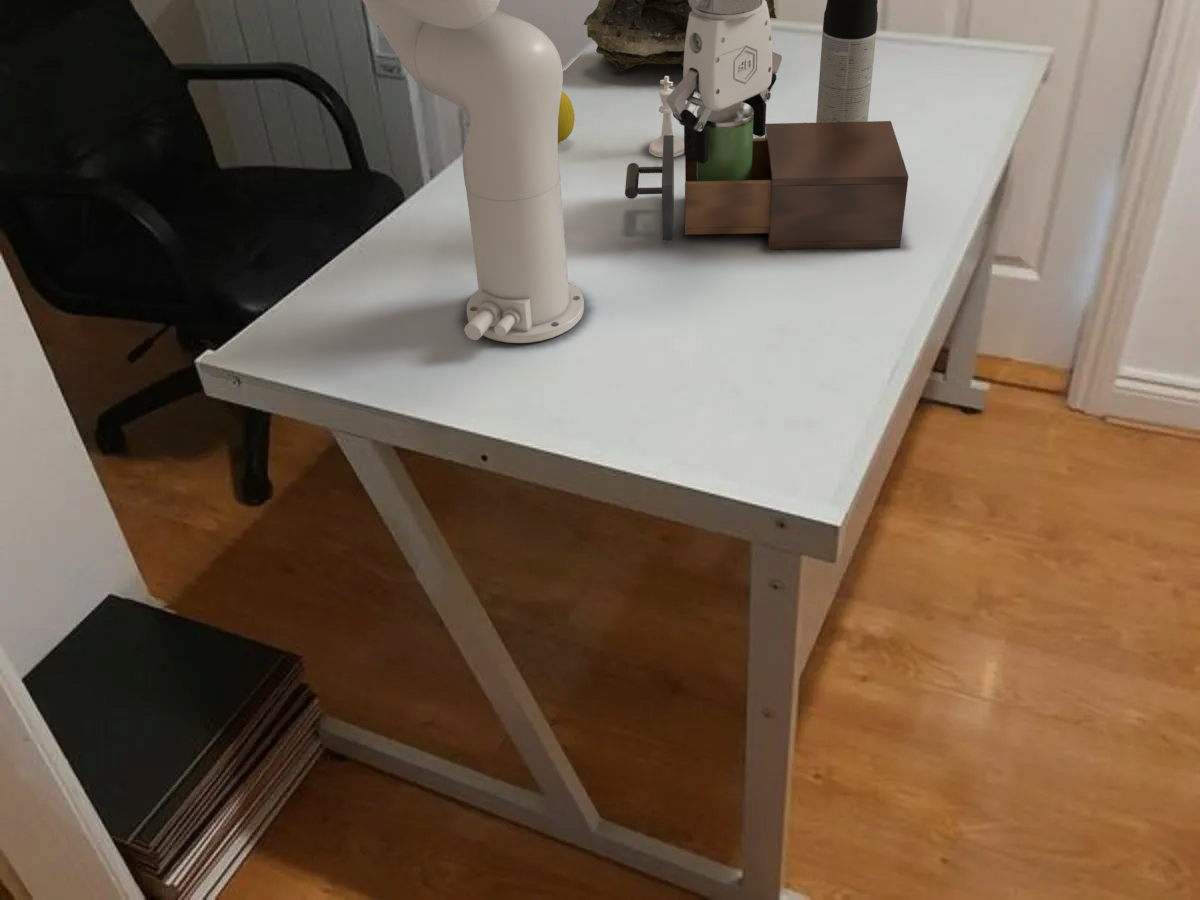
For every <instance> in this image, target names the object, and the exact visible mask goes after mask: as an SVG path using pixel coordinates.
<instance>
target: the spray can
mask: <svg viewBox="0 0 1200 900" xmlns="http://www.w3.org/2000/svg"><path fill="white" fill-rule="evenodd" d="M878 1H879V0H826V5H825V10H824V12H823V22H822V25H823V26H822V36H821V48H820V49H821V50H820V62H819V63H820V64H819V77H818V91H817V106H816V117H815V119H816V120H815V123H821V122H867V121H869V112H870V103H871V91H872V82H873V81H872V80H873V71H874V61H875V49H876V42H877V31H878V30H877V29H878V20H879V19H878V17H879V13H878Z"/></svg>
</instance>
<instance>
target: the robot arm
mask: <svg viewBox="0 0 1200 900" xmlns="http://www.w3.org/2000/svg"><path fill="white" fill-rule="evenodd" d="M362 2H363V4H364V5H365V7H366V8H367V10H368V12H369V14H370V15H371V17H372V18H373V20H374V22H375V23H376V25H377V27H378V28H379V30H380V31H381V33H382V34H383V36H384V38H385V39H386V41H387V43H388V44H389V46H390V48H391V49H392V50H393V52H394V54H395V55H396V57H397V59H398V60H399V62H400V63H401V64H402V66H403V68H405V70H406V72H407V73H408V74H409V75H410V77H411V78H412V79H413V80H414V81H415V82H416V83H417V84H418V85H420V86H421V87H422V88H424V90H427V91H428V92H430V93H431V94H434V95H435V96H438V97H440V98H442V99H444V100H447V101H448V102H450V103H453V104H455V105H456V106H458V107H459V108H461V109H464V110H465V111H466V112H467V113H468V116H469V117H468V118H469V126H468V130H467V134H466V138H465V141H464V144H463V148H462V172H463V181H464V185H465V192H466V199H467V200H466V201H467V208H468V209H467V210H468V216H469V222H470V223H469V224H470V231H471V238H472V246H473V247H472V248H473V254H474V264H475V271H476V279H477V287H478V290H476V291H475V292H474V293H473V294H472V295H471V296H470V298H469V299H468V301H467V304H466V317H467V321H468V322H467V323H466V325H464V333H465V335H466V337H467V338H468V339H470V340H472V341H479V340H480V339H481V338H482V337H485V338H487V339H490V340H493V341H497V342H500V343H501V342H502V343H503V342H504V343H508V344H530V343H537V342H543V341H546V340H549V339H552V338H555V337H558V336H560V335H562V334H564V333H566V332H568V331H569V330H571V329H572V328H573V327H574V326H576V325H577V324H578V323H579V322H580V321H581V319H582V318H583V315H584V313H585V301H584V296H583V293H582V292H581V290H580V289H579V288H578V287H577V286H576V285H574V284H572V283H571V282H570V281H569V278H568V265H567V264H568V263H567V251H566V250H567V249H566V237H565V223H564V210H563V195H562V182H561V175H560V174H561V172H560V159H559V144H558V117H559V107H560V100H561V92H563V83H564V71H563V64H562V63H563V62H562V58H561V56H560V53H559V50H558V49H557V47H556V46H555V44H554V43H553V41H552V40H551V38H550V37H549V36H547V34H545V32H543V31H542V30H541V29H540V28H537V27H536V26H535V25H533V24H531V23H530V22H528V21H525V20H524V19H521V18H519V17H517V16H513V15H512V14H509V13H506V12H503V11H501V10H498V7H499V5H500V2H501V0H362ZM688 2H689V5H690V7H691V8H692V11H691V12H690V14H689V19H688V25H687V31H686V40H685V50H684V67H683V66H682V67H683V69H682V70H683V71H682V73H683V74H682V75H683V76H682V77H683V78H682V79H681V81H679V83H678V84H677V85H676V87H674V89H673V91H672V93H671V94H670V95H669V96H668V98H667V103H668V105H669V107H670V109H671V111H672V112H673V113H672V117H674V118H675V119H676V121H678V122H679V125H681V126H683V141H684V153H683V154H684V156H686V157H687V158H690V159H692V160H695V161H697V162H699V163H702V164H704V163H706V162H707V161H708V129H705V128H704V126H705V124H706V122H707V119H708V117H709V115H710V113H711V111H712V110H713V111H720V110H723V109H726V108H728V107H731V106H733V105H735V104H737V103H740V102H744V103H746V104H748V105H750V106H751V107H752V108H753V110H754V121H753V136H756V137H758V138H763V137H765V126H766V124H767V123H766V122H767V121H766V120H767V118H766V117H767V102H769V101H770V99H771V96H772V94H771V90H772V88H773V87H774V85H775V83H776V81H777V74H778V71H779V69H780V66H781V64H782V60H783V56H782V55H781V54H779V53H776V52H774V51H773V37H772V25H771V24H772V23H771V18H770V17H769V11H768V6H767V2H766V1H765V0H688ZM697 107H701V109H700V112H699V114H698V116H697V115H695V114H694V113H695V111H696V110H697Z"/></svg>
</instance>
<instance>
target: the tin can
mask: <svg viewBox="0 0 1200 900" xmlns="http://www.w3.org/2000/svg"><path fill="white" fill-rule="evenodd" d="M700 109H701V107H700V106H698V108H697V109H696V117H697V116H698V114H699V112H700ZM753 121H754V110H753V108H752V107H751V106H750V105H748V104H746V103H744V102H740V103H737V104H735V105H733V106H731V107H728V108H726V109H723V110H720V111H713V110H712V111H711V113H710V115H709V117H708V119H707V122H706V124H705V126H704V128H705V129H708V161H707V162H706V163H704V164H702V163H699V162H697V181H744V180H752V152H753V138H754V134H753Z"/></svg>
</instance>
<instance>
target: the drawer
mask: <svg viewBox="0 0 1200 900" xmlns="http://www.w3.org/2000/svg"><path fill="white" fill-rule="evenodd" d="M674 136H675V135H674ZM674 136H673V135H664V138H663V158H662V163H661V164H662V165H661V166H640V165H639V164H638V163H636V162H631V163H629V164H627V166H626V174H625V175H626V176H625V185H624V186H625V187H624V195H625V197H626V198H627V199H629V200H634V199H636V198H637V197H638V195H661V223H662V224H661V225H662V227H661V229H662V231H661V232H662V241H663V242H668V241H669V242H670V241H671V242H672V241H674V213H675V212H674V211H675V210H674V209H675V157H674ZM684 156H685V155H684ZM684 162H685V163H684V168H685V169H684V171H685V172H684V176H685V178H684V222H685V223H684V235H733V234H734V235H736V234H737V235H739V234H742V235H745V234H768V233H769V229H770V206H771V183H772V182H771V173H770V165H769V157H768V148H767V140H766V138H765V137H753V152H752V180H744V181H697V161H695V160H692V159H690V158H687V157H686V156H685V157H684ZM640 174H661V186H660V187H657V186H656V187H655V186H654V187H639V183H640Z"/></svg>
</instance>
